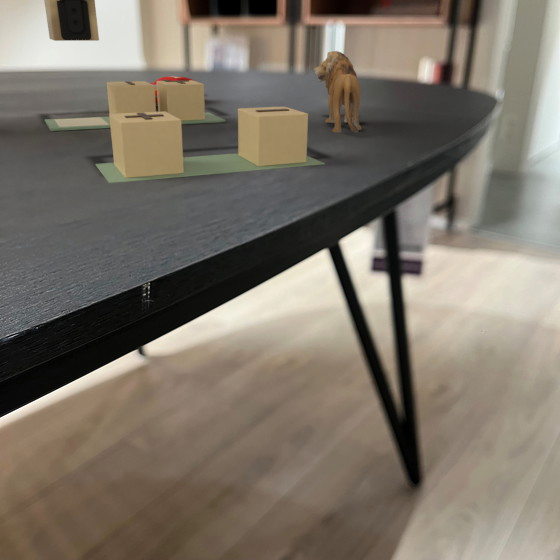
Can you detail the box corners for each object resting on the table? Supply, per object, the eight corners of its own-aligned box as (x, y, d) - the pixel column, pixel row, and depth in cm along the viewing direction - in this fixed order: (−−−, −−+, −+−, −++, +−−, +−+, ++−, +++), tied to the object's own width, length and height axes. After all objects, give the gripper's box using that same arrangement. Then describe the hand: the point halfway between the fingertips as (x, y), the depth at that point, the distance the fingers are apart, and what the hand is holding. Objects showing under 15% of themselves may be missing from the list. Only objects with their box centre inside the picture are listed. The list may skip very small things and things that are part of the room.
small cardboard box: (54, 40, 65) (47, -5, 63) (49, 39, 69) (43, -4, 67) (99, 40, 67) (94, -4, 65) (92, 39, 71) (87, -3, 69)
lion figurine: (309, 118, 81) (312, 49, 77) (346, 118, 82) (350, 50, 78) (336, 137, 68) (341, 56, 64) (379, 137, 69) (386, 57, 65)
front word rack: (109, 186, 46) (103, 124, 44) (95, 167, 52) (89, 111, 50) (325, 166, 54) (328, 113, 52) (292, 152, 60) (293, 103, 58)
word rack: (50, 131, 67) (44, 87, 65) (44, 121, 73) (39, 81, 71) (225, 122, 76) (224, 83, 74) (208, 114, 82) (207, 78, 80)
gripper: (7, -135, 66) (34, 36, 73) (14, -176, 52) (46, 41, 59) (75, -128, 69) (94, 36, 76) (99, -164, 55) (119, 41, 62)
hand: (73, 37), depth 68 cm, fingers closed on small cardboard box, 5 cm apart
